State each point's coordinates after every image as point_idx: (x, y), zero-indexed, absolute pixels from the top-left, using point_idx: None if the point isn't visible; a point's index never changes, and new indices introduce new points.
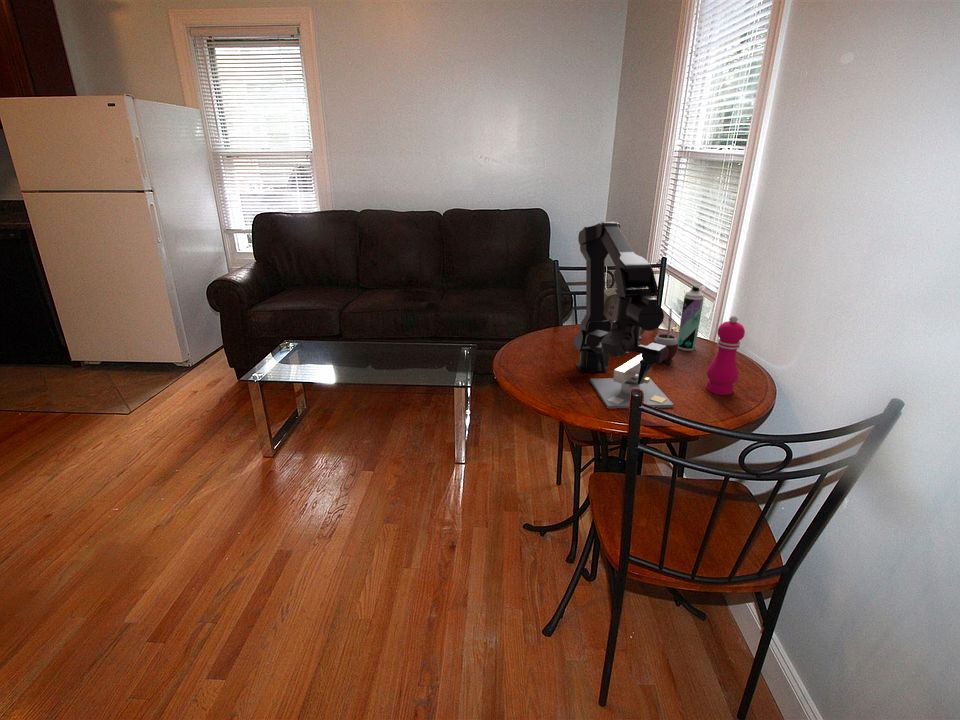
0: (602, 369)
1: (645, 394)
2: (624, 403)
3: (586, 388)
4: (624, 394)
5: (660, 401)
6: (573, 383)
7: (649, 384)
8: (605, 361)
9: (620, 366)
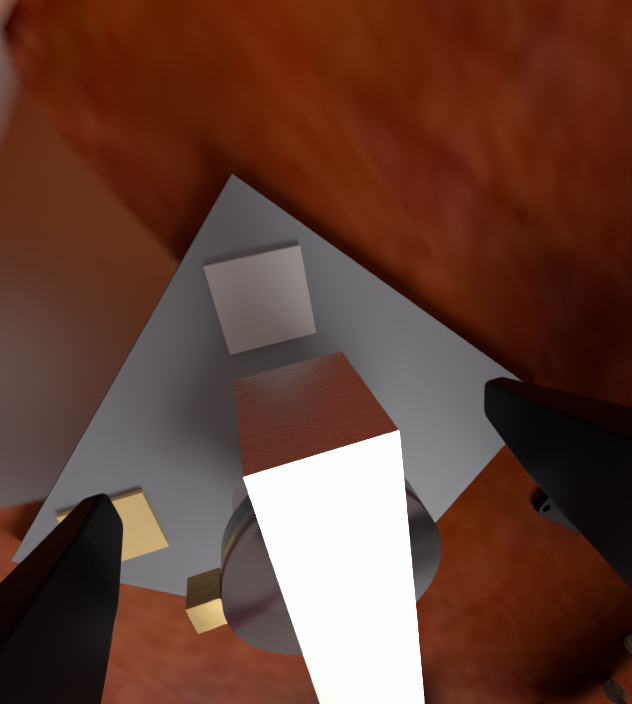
0: (540, 390)
1: (214, 511)
2: (193, 319)
3: (508, 306)
4: None
5: None
6: (594, 292)
7: None
8: (610, 482)
9: (403, 553)
